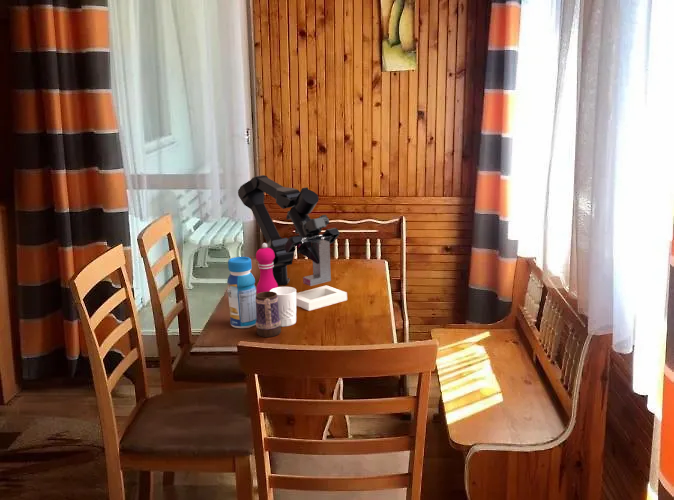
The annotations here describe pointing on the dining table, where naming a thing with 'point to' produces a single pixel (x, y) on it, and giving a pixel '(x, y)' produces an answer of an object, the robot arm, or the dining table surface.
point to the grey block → (320, 264)
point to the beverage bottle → (241, 293)
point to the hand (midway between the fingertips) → (323, 261)
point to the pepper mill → (265, 269)
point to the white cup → (286, 304)
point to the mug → (267, 314)
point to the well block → (330, 298)
